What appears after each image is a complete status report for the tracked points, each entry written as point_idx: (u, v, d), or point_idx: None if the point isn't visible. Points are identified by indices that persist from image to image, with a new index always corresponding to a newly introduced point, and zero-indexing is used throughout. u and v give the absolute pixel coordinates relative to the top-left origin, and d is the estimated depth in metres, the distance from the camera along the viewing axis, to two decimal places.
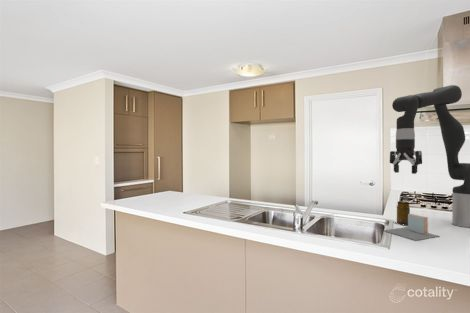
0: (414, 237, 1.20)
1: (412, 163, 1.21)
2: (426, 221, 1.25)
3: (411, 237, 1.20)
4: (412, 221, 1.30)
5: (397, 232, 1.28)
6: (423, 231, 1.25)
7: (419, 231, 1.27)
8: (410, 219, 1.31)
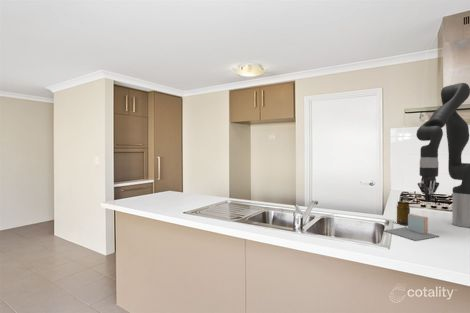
0: (414, 237, 1.20)
1: (432, 192, 1.31)
2: (426, 221, 1.25)
3: (411, 237, 1.20)
4: (412, 221, 1.30)
5: (397, 232, 1.28)
6: (423, 231, 1.25)
7: (419, 231, 1.27)
8: (410, 219, 1.31)
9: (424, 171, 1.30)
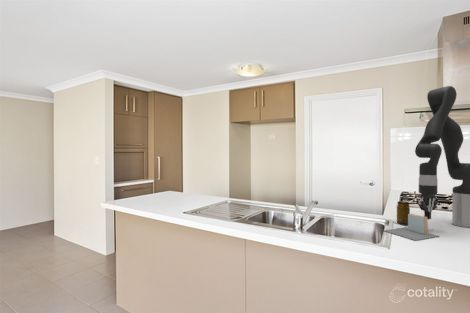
0: (414, 237, 1.20)
1: (431, 209, 1.31)
2: (426, 221, 1.25)
3: (411, 237, 1.20)
4: (412, 221, 1.30)
5: (397, 232, 1.28)
6: (423, 231, 1.25)
7: (419, 231, 1.27)
8: (410, 219, 1.31)
9: (423, 189, 1.30)
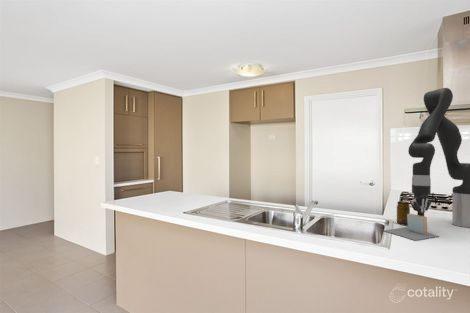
0: (414, 237, 1.20)
1: (424, 210, 1.29)
2: (425, 221, 1.25)
3: (411, 237, 1.20)
4: (411, 221, 1.30)
5: (397, 232, 1.28)
6: (423, 231, 1.25)
7: (419, 231, 1.27)
8: (410, 219, 1.31)
9: (416, 189, 1.28)
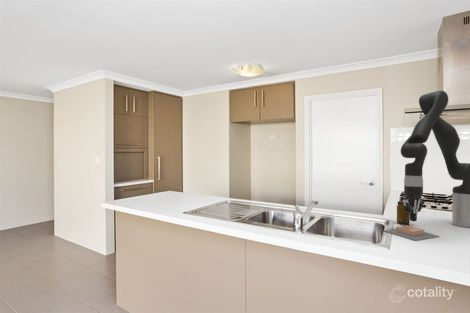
0: (414, 237, 1.20)
1: (417, 211, 1.27)
2: (415, 232, 1.23)
3: (411, 237, 1.20)
4: None
5: (397, 232, 1.28)
6: (421, 234, 1.25)
7: None
8: None
9: (408, 190, 1.26)
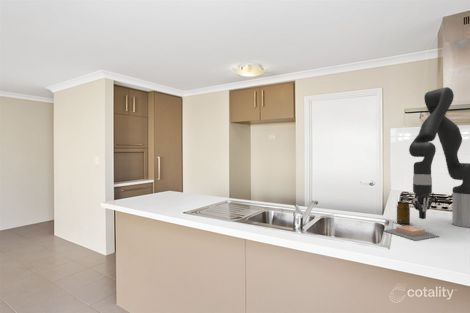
0: (414, 237, 1.20)
1: (426, 209, 1.29)
2: (415, 232, 1.23)
3: (411, 237, 1.20)
4: None
5: (397, 232, 1.28)
6: (421, 234, 1.25)
7: None
8: None
9: (417, 188, 1.28)
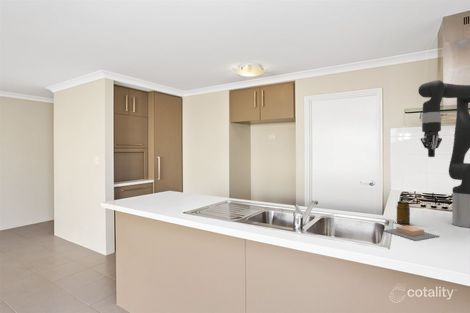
0: (414, 237, 1.20)
1: (435, 147, 1.31)
2: (415, 232, 1.23)
3: (411, 237, 1.20)
4: None
5: (397, 232, 1.28)
6: (421, 234, 1.25)
7: None
8: None
9: (427, 126, 1.30)
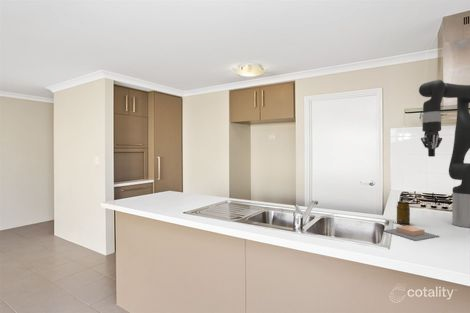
0: (414, 237, 1.20)
1: (435, 146, 1.31)
2: (415, 232, 1.23)
3: (411, 237, 1.20)
4: None
5: (397, 232, 1.28)
6: (421, 234, 1.25)
7: None
8: None
9: (427, 126, 1.30)
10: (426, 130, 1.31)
